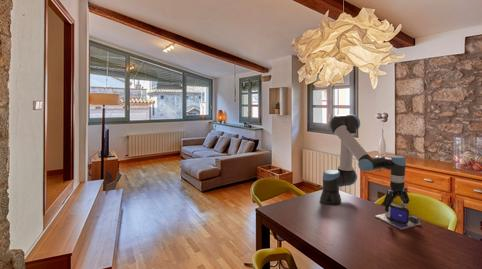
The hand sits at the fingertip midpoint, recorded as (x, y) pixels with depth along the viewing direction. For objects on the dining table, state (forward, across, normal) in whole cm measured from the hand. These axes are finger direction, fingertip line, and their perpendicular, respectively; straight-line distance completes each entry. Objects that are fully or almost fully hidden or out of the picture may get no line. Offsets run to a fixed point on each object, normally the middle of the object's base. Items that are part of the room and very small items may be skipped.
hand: (395, 214), depth 161 cm
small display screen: (+3, +1, +1) cm, 4 cm away
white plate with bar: (+4, +2, 0) cm, 4 cm away
